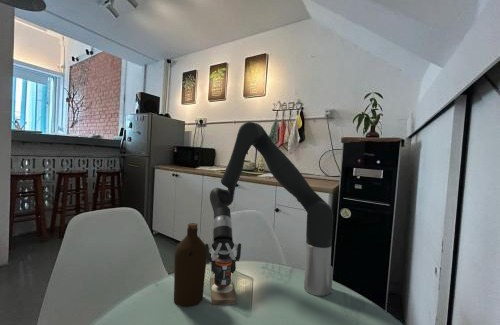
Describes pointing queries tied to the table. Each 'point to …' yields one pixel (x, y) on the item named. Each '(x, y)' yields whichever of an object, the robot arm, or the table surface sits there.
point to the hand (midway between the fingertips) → (223, 272)
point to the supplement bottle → (223, 269)
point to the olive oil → (189, 269)
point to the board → (222, 294)
